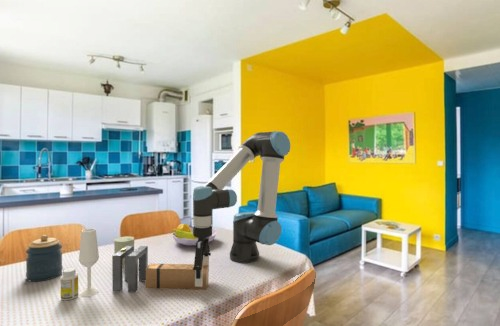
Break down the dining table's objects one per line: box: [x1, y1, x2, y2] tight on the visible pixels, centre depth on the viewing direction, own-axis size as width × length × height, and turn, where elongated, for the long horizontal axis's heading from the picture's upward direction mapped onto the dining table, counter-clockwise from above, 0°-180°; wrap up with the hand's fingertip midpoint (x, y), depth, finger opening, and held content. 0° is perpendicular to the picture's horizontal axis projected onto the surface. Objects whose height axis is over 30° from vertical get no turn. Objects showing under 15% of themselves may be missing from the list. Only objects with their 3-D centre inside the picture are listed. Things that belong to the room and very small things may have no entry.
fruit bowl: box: [171, 223, 218, 247], centre depth 174 cm, size 28×27×11 cm
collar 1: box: [111, 245, 135, 293], centre depth 118 cm, size 3×12×15 cm, turn 178°
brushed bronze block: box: [145, 263, 210, 291], centre depth 117 cm, size 24×5×8 cm, turn 88°
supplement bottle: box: [59, 267, 79, 301], centre depth 107 cm, size 6×6×10 cm
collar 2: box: [127, 245, 149, 293], centre depth 117 cm, size 3×12×14 cm, turn 178°
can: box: [113, 235, 135, 267], centre depth 142 cm, size 9×9×12 cm
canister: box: [25, 234, 63, 282], centre depth 126 cm, size 13×13×18 cm
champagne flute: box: [78, 228, 100, 298], centre depth 111 cm, size 7×7×24 cm
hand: (202, 278), depth 117 cm, fingers open, 13 cm apart
